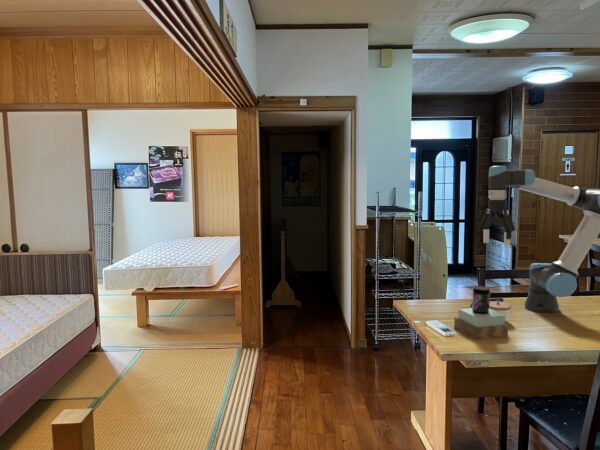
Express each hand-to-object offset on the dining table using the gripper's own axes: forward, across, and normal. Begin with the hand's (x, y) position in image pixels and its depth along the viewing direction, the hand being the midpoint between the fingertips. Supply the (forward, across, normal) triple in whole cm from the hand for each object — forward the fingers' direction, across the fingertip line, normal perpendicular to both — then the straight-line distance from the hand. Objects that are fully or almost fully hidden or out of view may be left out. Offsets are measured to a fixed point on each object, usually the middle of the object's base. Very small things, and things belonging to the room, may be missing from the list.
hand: (496, 244), depth 201 cm
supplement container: (+26, +17, -22) cm, 38 cm away
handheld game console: (+34, -4, -4) cm, 35 cm away
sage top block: (+30, +17, -22) cm, 40 cm away
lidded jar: (+34, +7, -5) cm, 35 cm away
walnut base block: (+35, +17, -22) cm, 44 cm away
